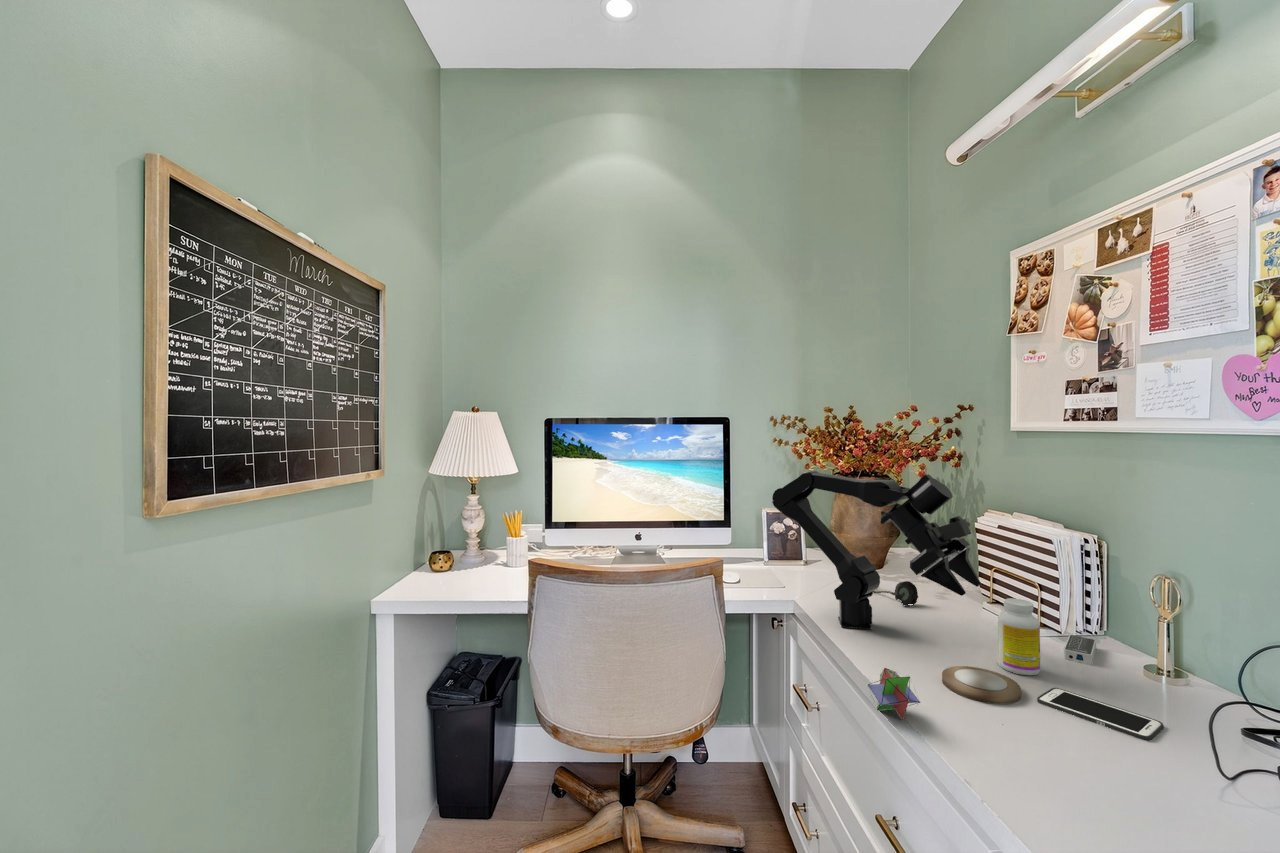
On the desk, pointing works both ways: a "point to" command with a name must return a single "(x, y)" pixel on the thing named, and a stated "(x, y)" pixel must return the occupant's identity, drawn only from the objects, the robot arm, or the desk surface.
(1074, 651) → the multiport hub
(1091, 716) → the cell phone
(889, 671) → the geometric puzzle
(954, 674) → the brown rimmed plate
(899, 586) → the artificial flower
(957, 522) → the robot arm
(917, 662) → the desk surface
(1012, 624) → the supplement bottle
